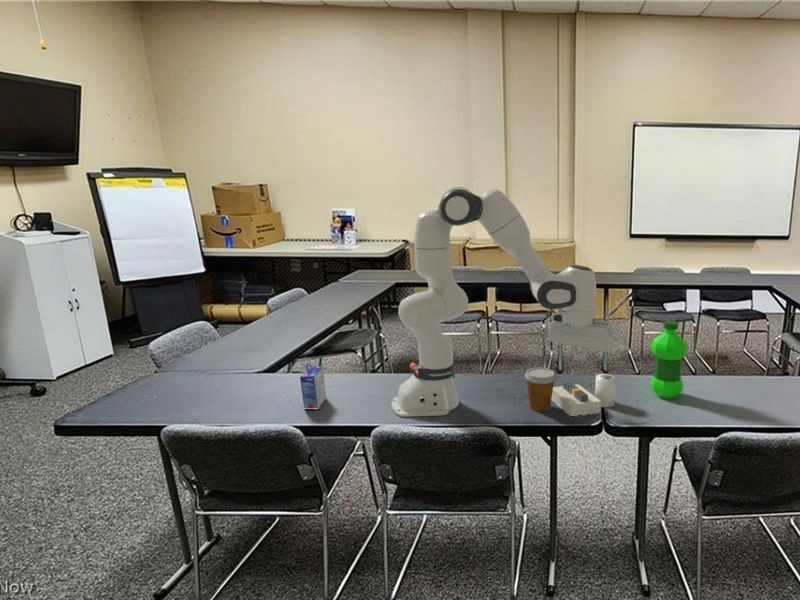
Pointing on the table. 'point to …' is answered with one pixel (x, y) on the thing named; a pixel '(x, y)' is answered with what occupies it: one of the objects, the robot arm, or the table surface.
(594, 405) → the power strip
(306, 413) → the table surface
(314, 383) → the ink cartridge box
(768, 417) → the table surface
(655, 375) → the plastic bottle
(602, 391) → the white hollow cylinder
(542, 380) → the disposable coffee cup
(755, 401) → the table surface
